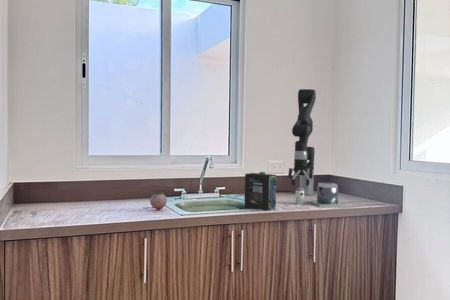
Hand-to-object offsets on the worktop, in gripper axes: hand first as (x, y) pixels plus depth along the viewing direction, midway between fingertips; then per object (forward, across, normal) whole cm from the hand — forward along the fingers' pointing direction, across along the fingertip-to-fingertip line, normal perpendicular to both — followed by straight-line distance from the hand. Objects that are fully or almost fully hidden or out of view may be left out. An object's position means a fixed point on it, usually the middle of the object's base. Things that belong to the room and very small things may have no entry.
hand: (300, 185), depth 226 cm
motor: (+11, -16, +3) cm, 20 cm away
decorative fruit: (+12, +83, +12) cm, 85 cm away
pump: (+11, 0, 0) cm, 11 cm away
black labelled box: (+11, +27, +11) cm, 31 cm away
